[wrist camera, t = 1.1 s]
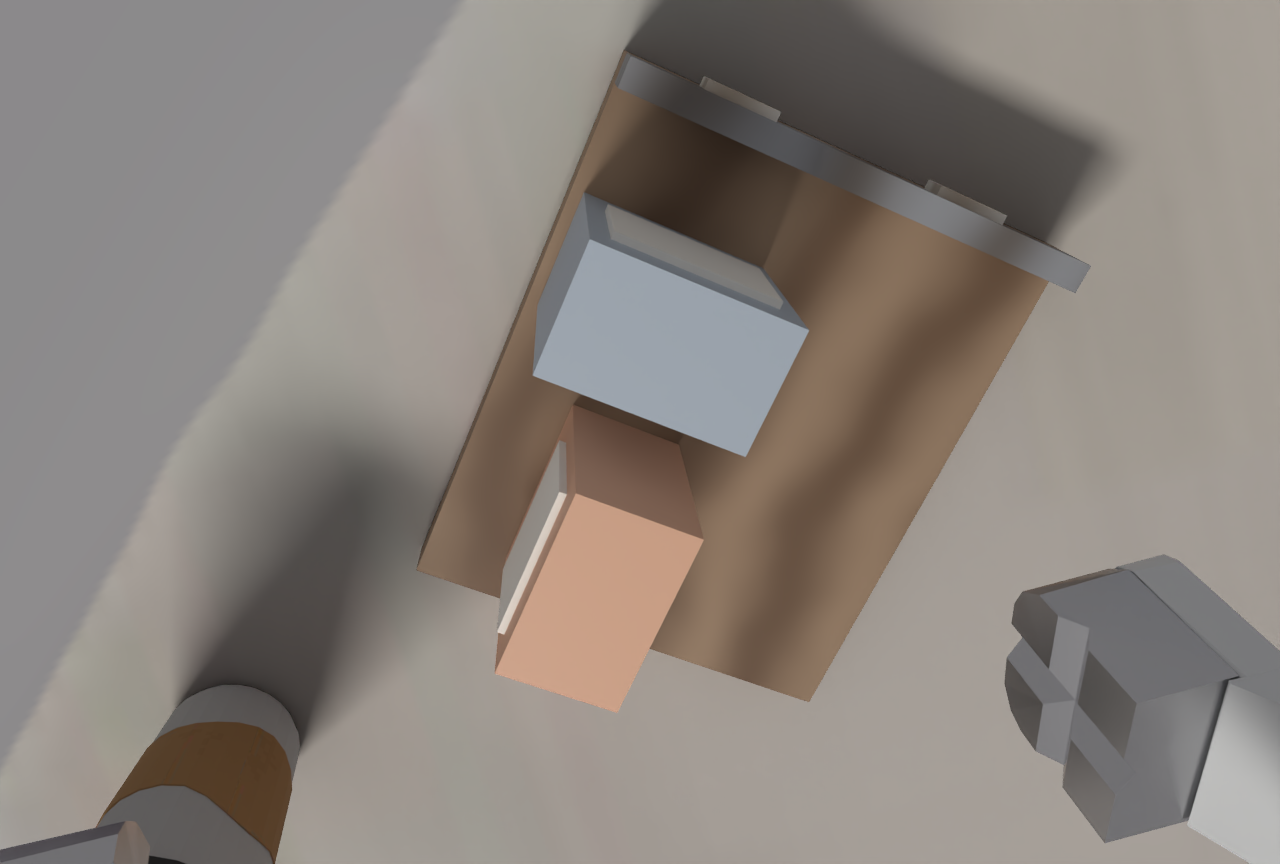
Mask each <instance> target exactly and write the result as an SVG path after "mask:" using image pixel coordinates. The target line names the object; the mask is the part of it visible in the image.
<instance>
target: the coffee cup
mask: <svg viewBox="0 0 1280 864" xmlns="http://www.w3.org/2000/svg"><path fill="white" fill-rule="evenodd" d="M299 750H300V742H299V733H298V731H297V729H296V727H295V724H294V722H293V720H292V717H291V715H290V713H289V712H288V711H287V710H286V709H285V707H284V706H283V705H282V704H281V703H280V702H279V701H277V700H276V699H275V698H273V697H272V696H271V695H269V694H267V693H265V692H263V691H260V690H258V689H256V688H253V687H248V686H243V685H220V686H216V687H212V688H208V689H206V690H204V691H200V692H199V693H197V694H195V695H193V696H191V697H189V698H187V699H186V700H184V701H183V702H182V703H181V704H180V705H179V706H178V707H177V708H176V709H175V710H174V712H173V713H172V715H171V716H170V718H169V719H168V721H167V722H166V724H165V725H164V727H163V728H162V730H161V731H160V733H159V734H158V736H157V737H156V739H155V740H154V742H153V743H152V744H151V745H150V746H149V747H148V748H147V749H146V751H145V752H144V754H143V755H142V757H141V758H140V760H139V761H138V763H137V764H136V766H135V767H134V769H133V770H132V772H131V773H130V775H129V776H128V778H127V779H126V781H125V782H124V784H123V785H122V787H121V788H120V790H119V791H118V792H117V794H116V795H115V797H114V798H113V800H112V801H111V803H110V804H109V806H108V807H107V809H106V810H105V812H104V813H103V815H102V817H101V819H100V821H99V822H98V824H97V826H96V828H97V827H101V826H106V825H110V824H114V823H119V822H123V821H134V822H137V824H138V826H139V828H140V829H141V831H142V833H143V835H144V836H145V838H146V840H147V842H148V844H149V845H150V852H149V860H148V864H275V861H276V856H277V852H278V848H279V843H280V839H281V835H282V831H283V826H284V822H285V818H286V813H287V809H288V805H289V801H290V796H291V792H292V780H293V776H294V772H295V768H296V763H297V759H298V755H299Z"/></svg>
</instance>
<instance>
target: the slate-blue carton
mask: <svg viewBox="0 0 1280 864" xmlns="http://www.w3.org/2000/svg"><path fill="white" fill-rule="evenodd" d="M808 332H809V329H808V328H807V327H806V325H805V324H804V323H803V321H802V320H801V318H800V317H799V316H798V314H797V313H796V312H795V310H794V309H793V308H792V306H791V305H790V304H789V302H788V301H787V300H786V298H785V297H784V296H783V294H782V293H781V291H780V290H779V289H778V287H777V286H776V285H775V283H774V282H773V281H772V279H771V278H770V277H769V275H768V274H767V273H766V271H765V270H764V268H762V267H759V266H757V265H755V264H752V263H750V262H748V261H745V260H743V259H741V258H738V257H736V256H733V255H731V254H729V253H726V252H724V251H722V250H719V249H717V248H715V247H712V246H710V245H708V244H705V243H703V242H700V241H698V240H696V239H693V238H691V237H689V236H686V235H684V234H682V233H679V232H677V231H675V230H672V229H670V228H667V227H665V226H663V225H660V224H658V223H656V222H653V221H651V220H649V219H646V218H644V217H642V216H639V215H637V214H634V213H632V212H630V211H627V210H625V209H623V208H620V207H618V206H616V205H613V204H611V203H609V202H606V201H604V200H601V199H599V198H597V197H594V196H592V195H590V194H587V193H585V192H584V193H583V195H582V198H581V200H580V203H579V205H578V208H577V210H576V212H575V215H574V217H573V220H572V222H571V225H570V227H569V229H568V232H567V234H566V237H565V239H564V242H563V244H562V247H561V249H560V251H559V254H558V256H557V259H556V261H555V264H554V266H553V268H552V271H551V273H550V276H549V278H548V281H547V283H546V285H545V288H544V290H543V293H542V295H541V298H540V300H539V302H538V305H537V319H536V334H535V348H534V363H533V376H535V377H538V378H540V379H543V380H545V381H548V382H551V383H553V384H556V385H559V386H561V387H564V388H566V389H569V390H572V391H574V392H577V393H579V394H582V395H585V396H587V397H590V398H592V399H595V400H598V401H600V402H603V403H606V404H608V405H611V406H613V407H616V408H619V409H621V410H624V411H626V412H629V413H632V414H634V415H637V416H639V417H642V418H645V419H647V420H650V421H653V422H655V423H658V424H660V425H663V426H666V427H668V428H671V429H673V430H676V431H679V432H681V433H684V434H686V435H689V436H692V437H694V438H697V439H700V440H702V441H705V442H707V443H710V444H713V445H715V446H718V447H720V448H723V449H726V450H728V451H731V452H733V453H736V454H739V455H741V456H744V457H746V455H747V453H748V451H749V449H750V447H751V445H752V443H753V441H754V439H755V437H756V435H757V433H758V431H759V429H760V427H761V426H762V424H763V422H764V420H765V418H766V416H767V414H768V412H769V410H770V408H771V406H772V404H773V402H774V400H775V398H776V396H777V394H778V392H779V390H780V388H781V386H782V384H783V382H784V380H785V378H786V376H787V374H788V372H789V370H790V368H791V366H792V364H793V362H794V360H795V358H796V356H797V354H798V352H799V350H800V348H801V346H802V344H803V342H804V340H805V338H806V336H807V334H808Z"/></svg>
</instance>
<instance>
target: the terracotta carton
mask: <svg viewBox="0 0 1280 864" xmlns="http://www.w3.org/2000/svg"><path fill="white" fill-rule="evenodd" d="M703 541H704V538H703V534H702V530H701V526H700V523H699V519H698V515H697V511H696V508H695V504H694V500H693V496H692V492H691V489H690V485H689V481H688V477H687V473H686V470H685V466H684V462H683V458H682V455H681V451H680V447H679V445H678V444H676V443H673V442H670V441H668V440H665V439H662V438H660V437H657V436H654V435H652V434H649V433H647V432H644V431H641V430H639V429H636V428H633V427H631V426H628V425H626V424H623V423H620V422H618V421H615V420H612V419H610V418H607V417H604V416H602V415H599V414H597V413H594V412H591V411H589V410H586V409H583V408H581V407H578V406H576V405H572V407H571V410H570V412H569V414H568V417H567V419H566V421H565V424H564V426H563V428H562V430H561V433H560V435H559V437H558V440H557V442H556V444H555V446H554V449H553V451H552V453H551V456H550V458H549V460H548V463H547V465H546V467H545V469H544V472H543V474H542V476H541V479H540V481H539V483H538V485H537V488H536V490H535V492H534V495H533V497H532V499H531V502H530V504H529V506H528V508H527V511H526V513H525V515H524V518H523V520H522V522H521V524H520V527H519V529H518V531H517V534H516V536H515V538H514V540H513V543H512V545H511V547H510V550H509V552H508V554H507V557H506V559H505V566H504V568H503V574H502V585H501V595H500V605H499V615H498V626H497V632H498V644H497V654H496V665H495V674H498V675H501V676H504V677H507V678H510V679H513V680H517V681H520V682H523V683H526V684H529V685H532V686H535V687H538V688H541V689H545V690H548V691H551V692H554V693H557V694H560V695H563V696H566V697H570V698H573V699H576V700H579V701H582V702H585V703H588V704H591V705H595V706H598V707H601V708H604V709H607V710H610V711H613V712H616V713H617V712H618V710H619V708H620V706H621V704H622V702H623V700H624V698H625V696H626V694H627V692H628V690H629V688H630V686H631V684H632V682H633V681H634V679H635V677H636V675H637V673H638V671H639V669H640V667H641V665H642V663H643V661H644V659H645V657H646V655H647V653H648V651H649V649H650V647H651V645H652V643H653V641H654V639H655V637H656V635H657V633H658V631H659V629H660V627H661V625H662V623H663V621H664V619H665V617H666V615H667V613H668V611H669V609H670V607H671V605H672V603H673V601H674V599H675V597H676V595H677V593H678V591H679V589H680V587H681V585H682V583H683V581H684V579H685V577H686V575H687V573H688V571H689V569H690V567H691V565H692V563H693V561H694V559H695V557H696V555H697V553H698V551H699V549H700V547H701V545H702V543H703Z"/></svg>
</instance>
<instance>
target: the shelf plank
mask: <svg viewBox="0 0 1280 864" xmlns="http://www.w3.org/2000/svg"><path fill="white" fill-rule="evenodd" d="M780 114H781V112H780V111H778V110H777V109H775V108H773V107H771V106H768V105H766V104H764V103H762V102H760V101H757V100H755V99H753V98H751V97H749V96H747V95H744V94H742V93H740V92H738V91H736V90H733V89H731V88H729V87H727V86H725V85H723V84H720V83H718V82H716V81H714V80H712V79H710V78H707V77H705V76H703V79H702V81H701V83H700V84H697V83H695V82H693V81H691V80H689V79H686V78H684V77H682V76H680V75H678V74H676V73H673V72H671V71H669V70H667V69H665V68H662V67H660V66H658V65H656V64H654V63H651V62H649V61H647V60H645V59H643V58H640V57H638V56H636V55H634V54H632V53H630V52H627V51H625V50H624V51H623V54H622V56H621V59H620V61H619V64H618V66H617V69H616V71H615V74H614V76H613V79H612V81H611V83H610V86H609V88H608V91H607V93H606V96H605V98H604V101H603V103H602V106H601V108H600V111H599V113H598V115H597V118H596V120H595V123H594V125H593V128H592V130H591V133H590V135H589V138H588V140H587V143H586V145H585V148H584V150H583V152H582V155H581V157H580V160H579V162H578V165H577V167H576V170H575V172H574V175H573V177H572V180H571V182H570V185H569V187H568V189H567V192H566V194H565V197H564V199H563V202H562V204H561V207H560V209H559V212H558V214H557V217H556V219H555V222H554V224H553V226H552V229H551V231H550V234H549V236H548V239H547V241H546V244H545V246H544V249H543V251H542V254H541V256H540V259H539V261H538V263H537V266H536V268H535V271H534V273H533V276H532V278H531V281H530V283H529V286H528V288H527V291H526V293H525V296H524V298H523V300H522V303H521V305H520V308H519V310H518V313H517V315H516V318H515V320H514V323H513V325H512V328H511V330H510V333H509V335H508V337H507V340H506V342H505V345H504V347H503V350H502V352H501V355H500V357H499V360H498V362H497V365H496V367H495V369H494V372H493V374H492V377H491V379H490V382H489V384H488V387H487V389H486V392H485V394H484V397H483V399H482V402H481V404H480V406H479V409H478V411H477V414H476V416H475V419H474V421H473V424H472V426H471V429H470V431H469V434H468V436H467V439H466V441H465V443H464V446H463V448H462V451H461V453H460V456H459V458H458V461H457V463H456V466H455V468H454V471H453V473H452V476H451V478H450V480H449V483H448V485H447V488H446V490H445V493H444V495H443V498H442V500H441V503H440V505H439V508H438V510H437V513H436V515H435V517H434V520H433V522H432V525H431V527H430V530H429V532H428V535H427V537H426V540H425V542H424V545H423V547H422V550H421V554H420V558H419V562H418V566H417V571H420V572H423V573H426V574H429V575H432V576H435V577H438V578H441V579H444V580H447V581H450V582H453V583H456V584H459V585H462V586H465V587H468V588H471V589H474V590H477V591H480V592H483V593H486V594H489V595H492V596H495V597H498V598H500V595H501V585H502V574H503V568H504V566H505V559H506V557H507V554H508V552H509V550H510V547H511V545H512V543H513V540H514V538H515V536H516V534H517V531H518V529H519V527H520V524H521V522H522V520H523V518H524V515H525V513H526V511H527V508H528V506H529V504H530V502H531V499H532V497H533V495H534V492H535V490H536V488H537V485H538V483H539V481H540V479H541V476H542V474H543V472H544V469H545V467H546V465H547V463H548V460H549V458H550V456H551V453H552V451H553V449H554V446H555V444H556V442H557V440H558V437H559V435H560V433H561V430H562V428H563V426H564V424H565V421H566V419H567V417H568V414H569V412H570V410H571V407H572V405H576V406H578V407H581V408H583V409H586V410H589V411H591V412H594V413H597V414H599V415H602V416H604V417H607V418H610V419H612V420H615V421H618V422H620V423H623V424H626V425H628V426H631V427H633V428H636V429H639V430H641V431H644V432H647V433H649V434H652V435H654V436H657V437H660V438H662V439H665V440H668V441H670V442H673V443H676V444H678V445H679V447H680V451H681V455H682V458H683V462H684V466H685V470H686V473H687V477H688V481H689V485H690V489H691V492H692V496H693V500H694V504H695V508H696V511H697V515H698V519H699V523H700V526H701V530H702V534H703V538H704V541H703V543H702V545H701V547H700V549H699V551H698V553H697V555H696V557H695V559H694V561H693V563H692V565H691V567H690V569H689V571H688V573H687V575H686V577H685V579H684V581H683V583H682V585H681V587H680V589H679V591H678V593H677V595H676V597H675V599H674V601H673V603H672V605H671V607H670V609H669V611H668V613H667V615H666V617H665V619H664V621H663V623H662V625H661V627H660V629H659V631H658V633H657V635H656V637H655V639H654V641H653V643H652V645H651V647H650V649H652V650H655V651H658V652H661V653H664V654H667V655H670V656H673V657H676V658H679V659H682V660H685V661H688V662H691V663H694V664H697V665H700V666H703V667H706V668H709V669H712V670H715V671H718V672H721V673H724V674H727V675H730V676H733V677H736V678H739V679H742V680H745V681H748V682H751V683H753V684H756V685H759V686H762V687H765V688H768V689H771V690H774V691H777V692H780V693H783V694H786V695H789V696H792V697H795V698H798V699H801V700H804V701H807V702H809V701H810V699H811V698H812V696H813V694H814V692H815V691H816V689H817V687H818V685H819V684H820V682H821V680H822V678H823V677H824V675H825V673H826V671H827V670H828V668H829V666H830V664H831V663H832V661H833V659H834V657H835V656H836V654H837V652H838V650H839V649H840V647H841V645H842V643H843V642H844V640H845V638H846V636H847V635H848V633H849V631H850V629H851V628H852V626H853V624H854V622H855V621H856V619H857V617H858V615H859V614H860V612H861V610H862V608H863V607H864V605H865V603H866V601H867V600H868V598H869V596H870V594H871V593H872V591H873V589H874V587H875V586H876V584H877V582H878V580H879V579H880V577H881V575H882V573H883V571H884V570H885V568H886V566H887V564H888V563H889V561H890V559H891V557H892V556H893V554H894V552H895V550H896V549H897V547H898V545H899V543H900V542H901V540H902V538H903V536H904V535H905V533H906V531H907V529H908V528H909V526H910V524H911V522H912V521H913V519H914V517H915V515H916V514H917V512H918V510H919V508H920V507H921V505H922V503H923V501H924V500H925V498H926V496H927V494H928V493H929V491H930V489H931V487H932V486H933V484H934V482H935V480H936V479H937V477H938V475H939V473H940V472H941V470H942V468H943V466H944V465H945V463H946V461H947V459H948V458H949V456H950V454H951V452H952V450H953V449H954V447H955V445H956V443H957V442H958V440H959V438H960V436H961V435H962V433H963V431H964V429H965V428H966V426H967V424H968V422H969V421H970V419H971V417H972V415H973V414H974V412H975V410H976V408H977V407H978V405H979V403H980V401H981V400H982V398H983V396H984V394H985V393H986V391H987V389H988V387H989V386H990V384H991V382H992V380H993V379H994V377H995V375H996V373H997V372H998V370H999V368H1000V366H1001V365H1002V363H1003V361H1004V359H1005V358H1006V356H1007V354H1008V352H1009V351H1010V349H1011V347H1012V345H1013V344H1014V342H1015V340H1016V338H1017V337H1018V335H1019V333H1020V331H1021V330H1022V328H1023V326H1024V324H1025V322H1026V321H1027V319H1028V317H1029V315H1030V314H1031V312H1032V310H1033V308H1034V307H1035V305H1036V303H1037V301H1038V300H1039V298H1040V296H1041V294H1042V293H1043V291H1044V289H1045V287H1046V286H1047V284H1048V282H1052V283H1054V284H1056V285H1058V286H1061V287H1063V288H1065V289H1067V290H1069V291H1072V292H1074V293H1076V291H1077V289H1078V287H1079V286H1080V284H1081V282H1082V281H1083V279H1084V277H1085V275H1086V274H1087V272H1088V270H1089V269H1090V267H1091V266H1090V265H1088V264H1086V263H1084V262H1082V261H1080V260H1079V259H1077V258H1075V257H1073V256H1071V255H1069V254H1067V253H1065V252H1063V251H1061V250H1059V249H1057V248H1055V247H1053V246H1051V245H1049V244H1047V243H1045V242H1043V241H1041V240H1039V239H1037V238H1035V237H1032V236H1030V235H1028V234H1026V233H1024V232H1021V231H1019V230H1017V229H1015V228H1013V227H1010V226H1008V225H1006V224H1004V221H1005V219H1006V217H1007V215H1005V214H1003V213H1001V212H999V211H997V210H995V209H993V208H991V207H988V206H986V205H984V204H982V203H980V202H978V201H975V200H973V199H971V198H969V197H967V196H964V195H962V194H960V193H958V192H956V191H954V190H951V189H949V188H947V187H945V186H943V185H940V184H938V183H936V182H934V181H932V180H930V179H929V180H928V182H927V184H926V186H925V187H923V186H921V185H919V184H916V183H914V182H912V181H910V180H908V179H905V178H903V177H901V176H899V175H897V174H894V173H892V172H890V171H888V170H886V169H883V168H881V167H879V166H877V165H875V164H873V163H870V162H868V161H866V160H864V159H862V158H859V157H857V156H855V155H853V154H851V153H848V152H846V151H844V150H842V149H840V148H838V147H835V146H833V145H831V144H829V143H827V142H824V141H822V140H820V139H818V138H816V137H813V136H811V135H809V134H807V133H805V132H802V131H800V130H798V129H796V128H794V127H792V126H789V125H787V124H785V123H783V122H781V121H778V118H779V116H780ZM584 192H585V193H587V194H590V195H592V196H594V197H597V198H599V199H601V200H604V201H606V202H609V203H611V204H613V205H616V206H618V207H620V208H623V209H625V210H627V211H630V212H632V213H634V214H637V215H639V216H642V217H644V218H646V219H649V220H651V221H653V222H656V223H658V224H660V225H663V226H665V227H667V228H670V229H672V230H675V231H677V232H679V233H682V234H684V235H686V236H689V237H691V238H693V239H696V240H698V241H700V242H703V243H705V244H708V245H710V246H712V247H715V248H717V249H719V250H722V251H724V252H726V253H729V254H731V255H733V256H736V257H738V258H741V259H743V260H745V261H748V262H750V263H752V264H755V265H757V266H759V267H762V268H764V270H765V271H766V273H767V274H768V275H769V277H770V278H771V279H772V281H773V282H774V283H775V285H776V286H777V287H778V289H779V290H780V291H781V293H782V294H783V296H784V297H785V298H786V300H787V301H788V302H789V304H790V305H791V306H792V308H793V309H794V310H795V312H796V313H797V314H798V316H799V317H800V318H801V320H802V321H803V323H804V324H805V325H806V327H807V328H808V329H809V332H808V334H807V336H806V338H805V340H804V342H803V344H802V346H801V348H800V350H799V352H798V354H797V356H796V358H795V360H794V362H793V364H792V366H791V368H790V370H789V372H788V374H787V376H786V378H785V380H784V382H783V384H782V386H781V388H780V390H779V392H778V394H777V396H776V398H775V400H774V402H773V404H772V406H771V408H770V410H769V412H768V414H767V416H766V418H765V420H764V422H763V424H762V426H761V427H760V429H759V431H758V433H757V435H756V437H755V439H754V441H753V443H752V445H751V447H750V449H749V451H748V453H747V455H746V457H744V456H741V455H739V454H736V453H733V452H731V451H728V450H726V449H723V448H720V447H718V446H715V445H713V444H710V443H707V442H705V441H702V440H700V439H697V438H694V437H692V436H689V435H686V434H684V433H681V432H679V431H676V430H673V429H671V428H668V427H666V426H663V425H660V424H658V423H655V422H653V421H650V420H647V419H645V418H642V417H639V416H637V415H634V414H632V413H629V412H626V411H624V410H621V409H619V408H616V407H613V406H611V405H608V404H606V403H603V402H600V401H598V400H595V399H592V398H590V397H587V396H585V395H582V394H579V393H577V392H574V391H572V390H569V389H566V388H564V387H561V386H559V385H556V384H553V383H551V382H548V381H545V380H543V379H540V378H538V377H535V376H533V363H534V348H535V334H536V319H537V305H538V302H539V300H540V298H541V295H542V293H543V290H544V288H545V285H546V283H547V281H548V278H549V276H550V273H551V271H552V268H553V266H554V264H555V261H556V259H557V256H558V254H559V251H560V249H561V247H562V244H563V242H564V239H565V237H566V234H567V232H568V229H569V227H570V225H571V222H572V220H573V217H574V215H575V212H576V210H577V208H578V205H579V203H580V200H581V198H582V195H583V193H584Z"/></svg>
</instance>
